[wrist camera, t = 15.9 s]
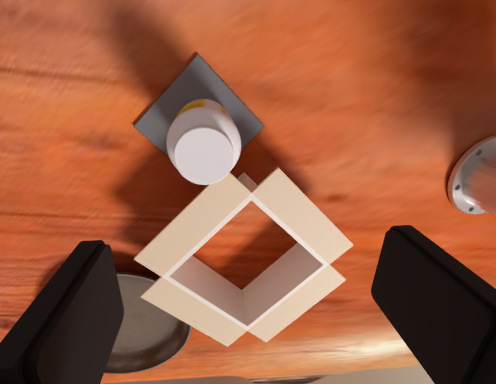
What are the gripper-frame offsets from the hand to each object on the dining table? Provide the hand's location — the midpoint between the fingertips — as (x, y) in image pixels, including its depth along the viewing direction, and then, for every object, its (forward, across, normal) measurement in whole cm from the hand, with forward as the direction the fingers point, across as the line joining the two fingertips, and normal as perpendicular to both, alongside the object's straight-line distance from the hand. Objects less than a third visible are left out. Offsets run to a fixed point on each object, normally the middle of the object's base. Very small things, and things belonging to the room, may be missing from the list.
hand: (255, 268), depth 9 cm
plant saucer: (+27, +16, +29) cm, 42 cm away
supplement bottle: (+26, +2, 0) cm, 26 cm away
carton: (+26, -3, +16) cm, 31 cm away
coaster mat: (+26, +3, 0) cm, 26 cm away
